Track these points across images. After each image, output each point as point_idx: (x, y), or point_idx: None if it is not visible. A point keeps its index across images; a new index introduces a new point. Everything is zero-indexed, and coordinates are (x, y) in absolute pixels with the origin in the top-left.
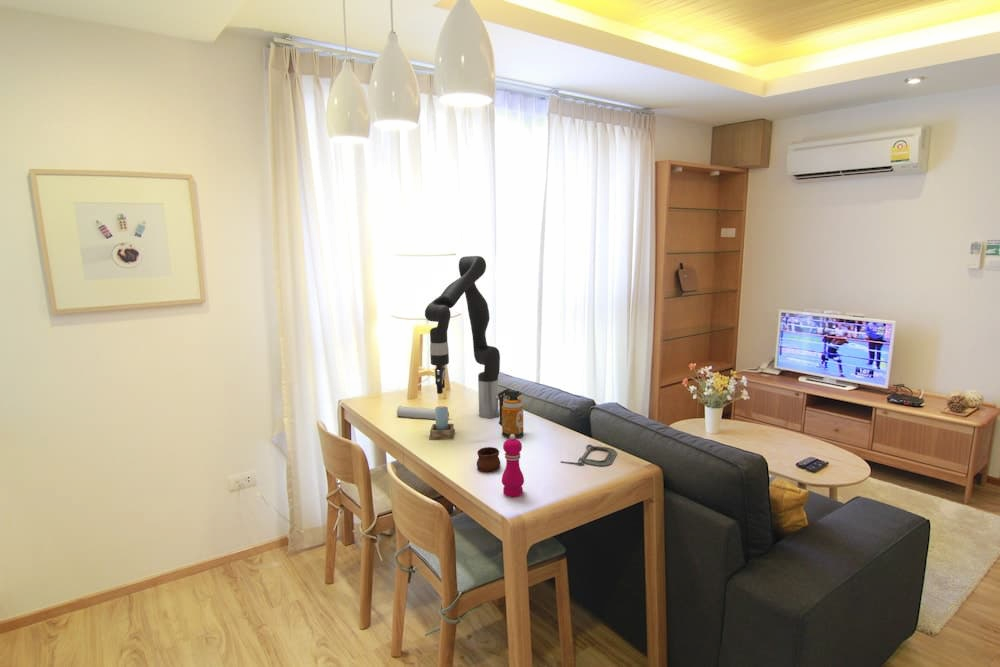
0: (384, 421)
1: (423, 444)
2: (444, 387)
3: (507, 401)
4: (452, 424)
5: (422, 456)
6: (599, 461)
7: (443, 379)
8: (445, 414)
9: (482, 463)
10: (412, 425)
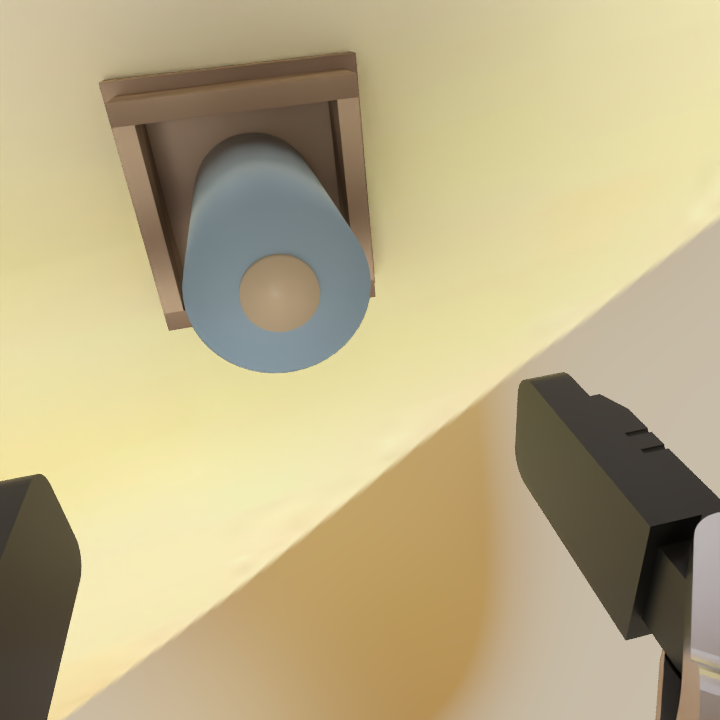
0: None
1: (471, 286)
2: (34, 475)
3: None
4: (138, 112)
5: (699, 223)
6: None
7: (703, 665)
8: (325, 198)
9: None
10: None
